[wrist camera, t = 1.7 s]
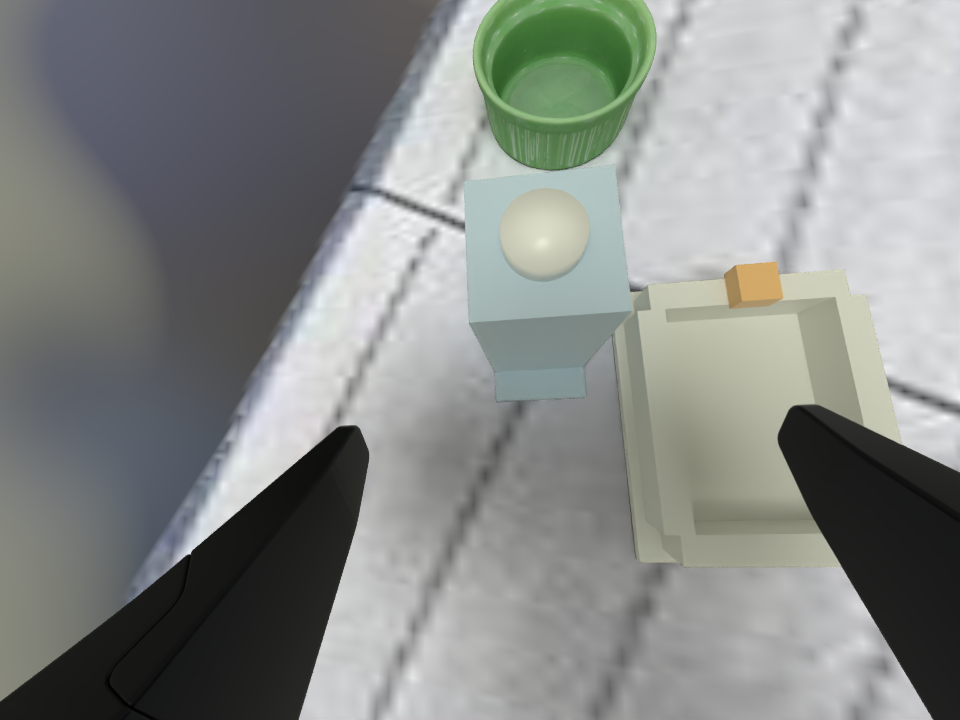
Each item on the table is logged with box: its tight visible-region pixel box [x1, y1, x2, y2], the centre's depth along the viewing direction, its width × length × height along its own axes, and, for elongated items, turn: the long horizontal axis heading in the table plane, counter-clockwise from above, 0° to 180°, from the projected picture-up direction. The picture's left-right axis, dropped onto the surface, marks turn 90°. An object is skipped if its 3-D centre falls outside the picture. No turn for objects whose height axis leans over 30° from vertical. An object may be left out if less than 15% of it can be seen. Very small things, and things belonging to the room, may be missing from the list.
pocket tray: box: [612, 262, 902, 567], centre depth 17 cm, size 13×10×4 cm
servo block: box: [464, 165, 632, 402], centre depth 16 cm, size 8×4×11 cm, turn 2°
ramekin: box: [473, 0, 656, 170], centre depth 21 cm, size 9×9×4 cm
